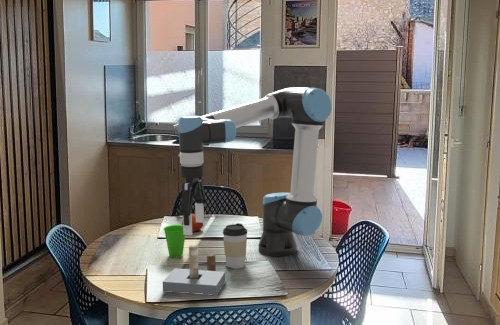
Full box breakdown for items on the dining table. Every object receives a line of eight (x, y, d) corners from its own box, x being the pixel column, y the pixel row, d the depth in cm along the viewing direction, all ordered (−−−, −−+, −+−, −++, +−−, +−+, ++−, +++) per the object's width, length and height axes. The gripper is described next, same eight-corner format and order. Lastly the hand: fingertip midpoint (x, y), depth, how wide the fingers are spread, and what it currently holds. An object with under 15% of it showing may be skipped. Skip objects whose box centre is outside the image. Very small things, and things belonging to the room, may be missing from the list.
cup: (183, 260, 206) (182, 232, 204) (160, 258, 208) (159, 230, 206) (190, 252, 215) (190, 225, 213) (168, 250, 217) (168, 224, 215)
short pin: (216, 270, 196) (216, 254, 195) (214, 273, 193) (214, 257, 192) (208, 269, 196) (208, 253, 195) (206, 272, 194) (205, 256, 192)
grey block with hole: (225, 281, 186) (225, 271, 185) (216, 295, 174) (216, 285, 173) (174, 277, 189) (174, 268, 188) (162, 291, 177) (162, 281, 177)
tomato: (179, 233, 239) (179, 215, 238) (185, 227, 248) (185, 210, 247) (200, 234, 238) (199, 216, 236) (205, 228, 247) (204, 211, 245)
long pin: (199, 285, 183) (199, 245, 180) (197, 288, 180) (196, 248, 177) (191, 284, 183) (190, 244, 181) (188, 288, 180) (187, 247, 178)
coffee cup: (238, 271, 195) (238, 230, 192) (218, 266, 200) (217, 227, 197) (252, 263, 203) (252, 224, 200) (232, 259, 207) (231, 221, 205)
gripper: (191, 157, 187) (194, 217, 191) (167, 172, 163) (170, 239, 167) (213, 157, 186) (214, 217, 189) (191, 172, 162) (194, 240, 165)
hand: (194, 228), depth 178 cm, fingers open, 13 cm apart
